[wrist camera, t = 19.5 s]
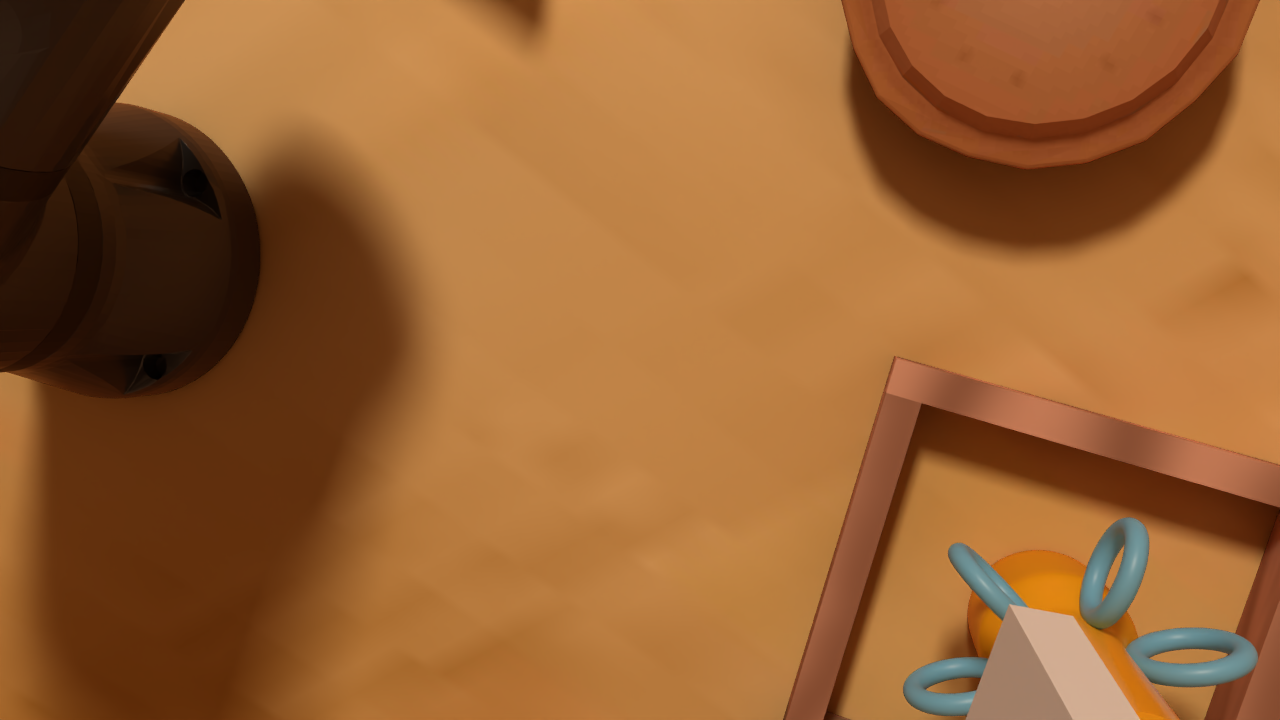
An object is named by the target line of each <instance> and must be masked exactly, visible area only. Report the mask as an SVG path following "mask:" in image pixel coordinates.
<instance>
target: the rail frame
mask: <svg viewBox="0 0 1280 720" xmlns="http://www.w3.org/2000/svg"><path fill="white" fill-rule="evenodd" d="M922 403H923V404H926V405H930V406H933V407H936V408H940V409H943V410H947V411H950V412H954V413H957V414H960V415H964V416H967V417H971V418H974V419H978V420H981V421H985V422H988V423H991V424H995V425H998V426H1002V427H1005V428H1009V429H1012V430H1015V431H1019V432H1022V433H1026V434H1029V435H1033V436H1036V437H1039V438H1043V439H1046V440H1050V441H1053V442H1057V443H1060V444H1063V445H1067V446H1070V447H1074V448H1077V449H1081V450H1084V451H1087V452H1091V453H1094V454H1098V455H1101V456H1105V457H1108V458H1111V459H1115V460H1118V461H1122V462H1125V463H1129V464H1132V465H1136V466H1139V467H1142V468H1146V469H1149V470H1153V471H1156V472H1160V473H1163V474H1166V475H1170V476H1173V477H1177V478H1180V479H1184V480H1187V481H1190V482H1194V483H1197V484H1201V485H1204V486H1208V487H1211V488H1214V489H1218V490H1221V491H1225V492H1228V493H1232V494H1235V495H1238V496H1242V497H1245V498H1249V499H1252V500H1256V501H1259V502H1263V503H1266V504H1269V505H1273V506H1276V507H1280V465H1278V464H1274V463H1271V462H1267V461H1264V460H1260V459H1257V458H1253V457H1250V456H1246V455H1243V454H1239V453H1235V452H1232V451H1228V450H1225V449H1221V448H1218V447H1214V446H1211V445H1207V444H1204V443H1200V442H1197V441H1193V440H1190V439H1186V438H1182V437H1179V436H1175V435H1172V434H1168V433H1165V432H1161V431H1158V430H1154V429H1151V428H1147V427H1144V426H1140V425H1137V424H1133V423H1129V422H1126V421H1122V420H1119V419H1115V418H1112V417H1108V416H1105V415H1101V414H1098V413H1094V412H1091V411H1087V410H1084V409H1080V408H1076V407H1073V406H1069V405H1066V404H1062V403H1059V402H1055V401H1052V400H1048V399H1045V398H1041V397H1038V396H1034V395H1031V394H1027V393H1023V392H1020V391H1016V390H1013V389H1009V388H1006V387H1002V386H999V385H995V384H992V383H988V382H985V381H981V380H978V379H974V378H970V377H967V376H963V375H960V374H956V373H953V372H949V371H946V370H942V369H939V368H935V367H932V366H928V365H925V364H921V363H917V362H914V361H910V360H907V359H903V358H900V357H896V356H894V359H893V362H892V365H891V369H890V372H889V375H888V379H887V382H886V385H885V388H884V392H883V395H882V398H881V401H880V405H879V408H878V411H877V414H876V418H875V421H874V424H873V428H872V431H871V434H870V437H869V441H868V444H867V447H866V450H865V454H864V457H863V460H862V464H861V467H860V470H859V473H858V477H857V480H856V483H855V486H854V490H853V493H852V496H851V499H850V503H849V506H848V509H847V513H846V516H845V519H844V522H843V526H842V529H841V532H840V535H839V539H838V542H837V545H836V548H835V552H834V555H833V558H832V562H831V565H830V568H829V571H828V575H827V578H826V581H825V584H824V588H823V591H822V594H821V598H820V601H819V604H818V607H817V611H816V614H815V617H814V620H813V624H812V627H811V630H810V633H809V637H808V640H807V643H806V647H805V650H804V653H803V656H802V660H801V663H800V666H799V669H798V673H797V676H796V679H795V683H794V686H793V689H792V692H791V696H790V699H789V702H788V705H787V709H786V712H785V715H784V718H783V720H850V719H847V718H844V717H841V716H839V715H836V714H833V713H830V712H828V711H826V710H827V706H828V703H829V700H830V697H831V693H832V690H833V687H834V684H835V681H836V677H837V674H838V671H839V668H840V665H841V661H842V658H843V655H844V652H845V648H846V645H847V642H848V639H849V636H850V632H851V629H852V626H853V623H854V619H855V616H856V613H857V610H858V607H859V603H860V600H861V597H862V594H863V591H864V587H865V584H866V581H867V578H868V574H869V571H870V568H871V565H872V562H873V558H874V555H875V552H876V549H877V545H878V542H879V539H880V536H881V533H882V529H883V526H884V523H885V520H886V517H887V513H888V510H889V507H890V504H891V500H892V497H893V494H894V491H895V488H896V484H897V481H898V478H899V475H900V472H901V468H902V465H903V462H904V459H905V455H906V452H907V449H908V446H909V443H910V439H911V436H912V433H913V430H914V426H915V423H916V420H917V417H918V414H919V410H920V407H921V404H922ZM1235 634H1237V635H1239V636H1241V637H1243V638H1245V639H1247V640H1248V641H1249V642H1250V643H1252V645H1253V646H1254V647H1255V649H1256V651H1257V653H1258V662H1257V665H1256V666H1255V668H1254V669H1253V670H1252V671H1251V672H1250V673H1249V674H1247V675H1246V676H1244V677H1242V678H1240V679H1237V680H1235V681H1232V682H1228V683H1224V684H1219V685H1217V686H1216V689H1215V692H1214V695H1213V698H1212V700H1211V703H1210V706H1209V709H1208V711H1207V714H1206V717H1205V720H1280V510H1279V513H1278V516H1277V519H1276V522H1275V524H1274V527H1273V530H1272V533H1271V536H1270V538H1269V541H1268V544H1267V547H1266V550H1265V552H1264V555H1263V558H1262V561H1261V563H1260V566H1259V569H1258V572H1257V575H1256V577H1255V580H1254V583H1253V586H1252V589H1251V591H1250V594H1249V597H1248V600H1247V603H1246V605H1245V608H1244V611H1243V614H1242V617H1241V619H1240V622H1239V625H1238V628H1237V630H1236V633H1235ZM1228 655H1230V654H1228Z"/></svg>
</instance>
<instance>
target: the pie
mask: <svg viewBox="0 0 1280 720" xmlns="http://www.w3.org/2000/svg"><path fill="white" fill-rule="evenodd" d="M841 1H842V5H843V9H844V13H845V17H846V21H847V25H848V29H849V33H850V37H851V41H852V45H853V49H854V51H855V53H856V56H857V58H858V60H859V62H860V64H861V66H862V68H863V70H864V72H865V74H866V76H867V78H868V80H869V83H870V85H871V87H872V89H873V91H874V93H875V95H876V97H877V98H878V99H879V100H880V101H881V102H882V103H883V104H884V105H885V106H887V107H888V108H889V109H890V110H891V111H892V112H893V113H894V114H895V115H896V116H898V117H899V118H900V119H901V120H902V121H903V122H904V123H905V124H906V125H908V126H909V127H910V128H911V129H912V130H913V131H914V132H915V133H916V134H917V135H919V136H922V137H924V138H926V139H928V140H931V141H933V142H935V143H938V144H940V145H942V146H944V147H947V148H949V149H951V150H953V151H956V152H958V153H960V154H962V155H965V156H967V157H971V158H976V159H980V160H985V161H989V162H994V163H998V164H1003V165H1007V166H1012V167H1016V168H1021V169H1025V170H1027V169H1037V168H1046V167H1056V166H1065V165H1075V164H1084V163H1088V162H1091V161H1094V160H1096V159H1099V158H1102V157H1104V156H1107V155H1110V154H1112V153H1115V152H1118V151H1120V150H1123V149H1126V148H1128V147H1131V146H1134V145H1136V144H1139V143H1142V142H1144V141H1146V140H1147V139H1149V138H1150V137H1151V136H1152V135H1154V134H1155V133H1156V132H1157V131H1159V130H1160V129H1161V128H1162V127H1164V126H1165V125H1166V124H1167V123H1168V122H1170V121H1171V120H1172V119H1173V118H1175V117H1176V116H1177V115H1178V114H1180V113H1181V112H1182V111H1183V110H1185V109H1186V108H1187V107H1188V106H1190V105H1191V104H1192V103H1193V102H1195V101H1196V100H1197V99H1198V97H1199V96H1200V95H1201V94H1202V93H1203V92H1204V91H1205V90H1206V89H1207V87H1208V86H1209V85H1210V84H1211V83H1212V82H1213V81H1214V80H1215V79H1216V78H1217V76H1218V75H1219V74H1220V73H1221V72H1222V71H1223V70H1224V69H1225V68H1226V67H1227V65H1228V64H1229V63H1230V62H1231V61H1232V60H1233V59H1234V58H1235V57H1236V56H1237V54H1238V52H1239V50H1240V48H1241V45H1242V43H1243V40H1244V38H1245V35H1246V33H1247V30H1248V28H1249V25H1250V23H1251V20H1252V18H1253V16H1254V13H1255V11H1256V8H1257V6H1258V3H1259V1H1260V0H841Z"/></svg>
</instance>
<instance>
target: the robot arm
mask: <svg viewBox="0 0 1280 720" xmlns="http://www.w3.org/2000/svg"><path fill="white" fill-rule="evenodd" d="M184 1H185V0H0V372H8V373H12V374H15V375H18V376H22V377H25V378H28V379H32V380H35V381H38V382H42V383H45V384H48V385H52V386H55V387H58V388H62V389H65V390H68V391H72V392H75V393H78V394H82V395H86V396H92V397H99V398H129V397H138V396H146V395H154V394H160V393H165V392H169V391H172V390H175V389H178V388H180V387H182V386H185V385H187V384H189V383H191V382H193V381H194V380H196V379H197V378H199V377H201V376H202V375H203V374H205V373H206V372H207V371H209V370H210V369H211V368H212V367H213V366H214V365H215V364H217V362H218V361H219V360H220V359H221V358H222V357H223V356H224V355H225V354H226V353H227V351H228V350H229V349H230V348H231V346H232V345H233V343H234V342H235V340H236V339H237V337H238V335H239V334H240V332H241V330H242V328H243V326H244V324H245V322H246V320H247V317H248V315H249V313H250V310H251V307H252V304H253V301H254V297H255V293H256V288H257V283H258V276H259V266H260V244H259V233H258V226H257V222H256V217H255V213H254V209H253V206H252V203H251V200H250V197H249V194H248V192H247V190H246V187H245V185H244V183H243V181H242V179H241V177H240V175H239V174H238V172H237V170H236V169H235V167H234V166H233V164H232V163H231V161H230V160H229V159H228V157H227V156H226V155H225V154H224V153H223V151H222V150H221V149H220V148H219V147H218V146H217V145H216V144H215V143H214V142H213V141H212V140H211V139H210V138H209V137H207V136H206V135H205V134H204V133H202V132H201V131H200V130H198V129H197V128H195V127H193V126H192V125H190V124H188V123H186V122H184V121H183V120H180V119H178V118H176V117H173V116H170V115H167V114H164V113H160V112H157V111H153V110H150V109H146V108H143V107H139V106H135V105H131V104H124V103H115V102H116V101H117V99H118V98H119V96H120V95H121V93H122V92H123V90H124V89H125V87H126V86H127V84H128V83H129V81H130V80H131V79H132V77H133V76H134V74H135V73H136V71H137V70H138V68H139V67H140V65H141V64H142V62H143V61H144V59H145V58H146V57H147V55H148V54H149V52H150V51H151V49H152V48H153V46H154V45H155V43H156V42H157V40H158V39H159V37H160V36H161V34H162V33H163V32H164V30H165V29H166V27H167V26H168V24H169V23H170V21H171V20H172V18H173V17H174V15H175V14H176V12H177V11H178V10H179V8H180V7H181V5H182V4H183V2H184ZM966 720H1140V719H1139V717H1138V715H1137V714H1136V712H1135V711H1134V709H1133V708H1132V706H1131V705H1130V703H1129V702H1128V700H1127V698H1126V697H1125V695H1124V694H1123V692H1122V691H1121V689H1120V688H1119V686H1118V685H1117V683H1116V681H1115V680H1114V678H1113V677H1112V675H1111V674H1110V672H1109V671H1108V669H1107V668H1106V666H1105V664H1104V663H1103V661H1102V660H1101V658H1100V657H1099V655H1098V654H1097V652H1096V651H1095V649H1094V648H1093V646H1092V644H1091V643H1090V641H1089V640H1088V638H1087V637H1086V635H1085V634H1084V632H1083V631H1082V629H1081V627H1080V626H1079V624H1078V623H1077V621H1076V620H1075V618H1074V617H1073V616H1070V615H1064V614H1059V613H1054V612H1048V611H1043V610H1038V609H1032V608H1027V607H1022V606H1016V605H1011V604H1009V606H1008V609H1007V611H1006V614H1005V616H1004V619H1003V622H1002V624H1001V627H1000V630H999V632H998V635H997V638H996V640H995V643H994V646H993V648H992V651H991V654H990V656H989V659H988V661H987V664H986V667H985V669H984V672H983V675H982V677H981V680H980V683H979V685H978V688H977V691H976V693H975V696H974V699H973V701H972V704H971V706H970V709H969V712H968V714H967V717H966Z"/></svg>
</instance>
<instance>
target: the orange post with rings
mask: <svg viewBox="0 0 1280 720" xmlns="http://www.w3.org/2000/svg"><path fill="white" fill-rule="evenodd" d="M1124 544H1125V545H1124ZM1123 546H1124V553H1123V557H1122V561H1121V565H1120V568H1119V571H1118V573H1117V576H1116V578H1115V581H1114V583H1113V585H1112V587H1111V589H1110V590H1109V589H1108V588H1107V587H1106V585H1105V583H1106V580H1107V577H1108V574H1109V571H1110V569H1111V566H1112V564H1113V562H1114V560H1115V558H1116V556H1117V555H1118V553H1119V551H1120V550H1121V548H1122V547H1123ZM1148 555H1149V537H1148V532H1147V530H1146V528H1145V526H1144V525H1143V524H1142V523H1141V522H1140V521H1139V520H1137V519H1135V518H1129V517H1128V518H1122V519H1120V520H1118V521H1116V522H1115V523H1113V524H1112V525H1111V526H1110V527H1109V528H1108V529H1107V530H1106V532H1105V533H1104V534H1103V536H1102V537H1101V539H1100V540H1099V542H1098V544H1097V545H1096V547H1095V549H1094V551H1093V553H1092V555H1091V558H1090V560H1089V562H1088V565H1087V567H1086V566H1085V565H1083V564H1082V563H1080V562H1079V561H1077V560H1075V559H1073V558H1071V557H1069V556H1066V555H1064V554H1060V553H1057V552H1052V551H1045V550H1030V551H1023V552H1019V553H1015V554H1012V555H1009V556H1007V557H1005V558H1003V559H1001V560H999V561H997V562H996V563H995V564H993V565H992V566H990V565H989V564H988V563H987V562H986V561H985V560H984V559H983V558H982V557H981V556H979V555H978V554H977V553H976V552H975V551H974V550H972V549H971V548H970V547H968V546H967V545H965V544H963V543H955V544H953V545H951V546H950V548H949V550H948V556H949V559H950V561H951V563H952V565H953V566H954V568H955V569H956V570H957V572H958V573H959V574H960V576H961V577H962V578H963V579H964V581H965V582H966V583H967V584H968V585H969V587H970V588H971V589H972V590H973V591H972V593H971V597H970V600H969V605H968V625H969V630H970V634H971V637H972V640H973V643H974V646H975V649H976V651H977V654H978V657H960V658H951V659H946V660H941V661H937V662H934V663H930V664H928V665H925V666H923V667H921V668H919V669H917V670H916V671H914V672H913V673H912V674H910V675H909V676H908V678H907V679H906V681H905V683H904V686H903V693H904V696H905V698H906V700H907V701H908V703H909V704H910V705H911V706H913V707H914V708H916V709H918V710H920V711H922V712H925V713H929V714H934V715H941V716H965V715H967V714H968V712H969V709H970V706H971V704H972V701H973V699H974V696H975V693H976V691H977V690H975V691H970V692H964V693H954V694H944V693H934V692H930V691H927V690H926V689H927V688H929V687H930V686H932V685H934V684H937V683H940V682H943V681H947V680H951V679H957V678H969V677H975V678H981V677H982V675H983V672H984V669H985V667H986V664H987V661H988V659H989V656H990V654H991V651H992V648H993V646H994V643H995V640H996V638H997V635H998V632H999V630H1000V627H1001V624H1002V622H1003V619H1004V616H1005V614H1006V611H1007V609H1008V606H1009V604H1011V605H1016V606H1022V607H1027V608H1032V609H1038V610H1043V611H1048V612H1054V613H1059V614H1064V615H1070V616H1073V617H1074V618H1075V620H1076V621H1077V623H1078V624H1079V626H1080V627H1081V629H1082V631H1083V632H1084V634H1085V635H1086V637H1087V638H1088V640H1089V641H1090V643H1091V644H1092V646H1093V648H1094V649H1095V651H1096V652H1097V654H1098V655H1099V657H1100V658H1101V660H1102V661H1103V663H1104V664H1105V666H1106V668H1107V669H1108V671H1109V672H1110V674H1111V675H1112V677H1113V678H1114V680H1115V681H1116V683H1117V685H1118V686H1119V688H1120V689H1121V691H1122V692H1123V694H1124V695H1125V697H1126V698H1127V700H1128V702H1129V703H1130V705H1131V706H1132V708H1133V709H1134V711H1135V712H1136V714H1137V715H1138V717H1139V719H1140V720H1180V719H1179V718H1178V717H1177V715H1176V714H1175V713H1174V711H1173V710H1172V709H1171V708H1170V706H1169V705H1168V704H1167V702H1166V701H1165V700H1164V699H1163V697H1162V696H1161V695H1160V694H1159V692H1158V691H1157V690H1156V688H1155V687H1154V686H1153V685H1152V683H1155V684H1160V685H1166V686H1174V687H1205V686H1214V685H1219V684H1224V683H1228V682H1232V681H1235V680H1237V679H1240V678H1242V677H1244V676H1246V675H1247V674H1249V673H1250V672H1251V671H1252V670H1253V669H1254V668H1255V666H1256V665H1257V662H1258V653H1257V651H1256V649H1255V647H1254V646H1253V645H1252V643H1250V642H1249V641H1248V640H1247V639H1245V638H1243V637H1241V636H1239V635H1237V634H1234V633H1231V632H1228V631H1223V630H1218V629H1210V628H1175V629H1167V630H1162V631H1157V632H1153V633H1149V634H1146V635H1144V636H1141V637H1139V638H1138V635H1137V631H1136V628H1135V626H1134V623H1133V621H1132V619H1131V617H1130V615H1129V614H1128V612H1127V609H1128V608H1129V606H1130V605H1131V603H1132V601H1133V600H1134V598H1135V596H1136V594H1137V592H1138V589H1139V587H1140V584H1141V582H1142V579H1143V576H1144V573H1145V569H1146V565H1147V561H1148ZM1182 649H1206V650H1215V651H1220V652H1224V653H1227V654H1230V655H1228V656H1226V657H1224V658H1221V659H1218V660H1214V661H1209V662H1203V663H1192V664H1175V663H1165V662H1159V661H1155V660H1152V659H1149V658H1150V657H1152V656H1154V655H1157V654H1160V653H1164V652H1168V651H1174V650H1182ZM1151 682H1152V683H1151Z"/></svg>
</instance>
